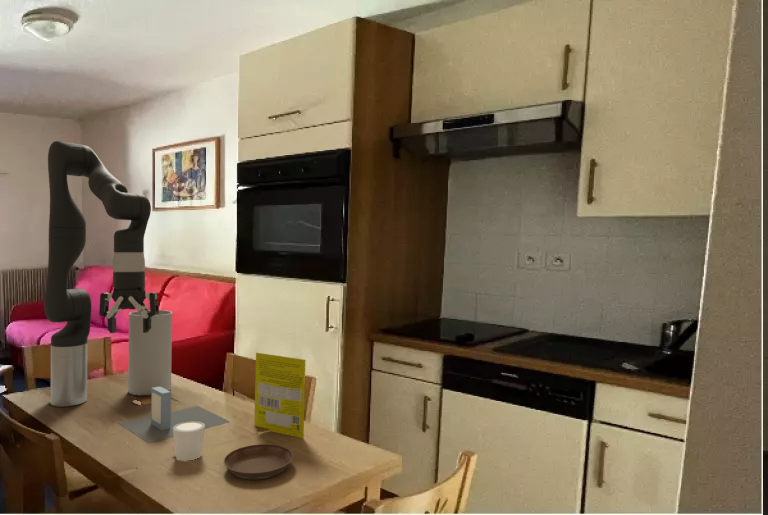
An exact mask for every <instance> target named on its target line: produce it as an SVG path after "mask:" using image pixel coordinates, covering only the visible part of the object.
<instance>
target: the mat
mask: <svg viewBox="0 0 768 515" xmlns="http://www.w3.org/2000/svg"><path fill="white" fill-rule="evenodd" d="M192 421H195V422H201V423H204V424H205V428H204V430H205V429H209V428H212V427H215V426H221V425H224V424H227V423H231V420H228V419H226V418H223V417H222V416H220V415H217V413H216V414H215V413H214V412H212V411H210V410H207V409H206V408H204V407H201V406H199V405H195V406H191V407H187V408H186V407H185V408H182V409H177V410H173V411H171V425H170V429H166V430H160V429H159V428H157V427H155V426H154V425H152V424H151V415H150V416H145V417H142V418H137V419H133V420H128V421H124V422H118V425H120V426H121V427H123V428H124V429H126V430H127V431H129V432H130V433H132V434H134V435H135V436H137V437H138V438H139V439H141V440H142V441H144V442H146V443H148V444H151V443H156V442H159V441H163V440H166V439H170V438H174V434H173V427H174V426H175V425H177V424H180V423H183V422H192Z"/></svg>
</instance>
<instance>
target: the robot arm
mask: <svg viewBox="0 0 768 515" xmlns="http://www.w3.org/2000/svg"><path fill="white" fill-rule="evenodd" d="M47 170H48V183H49V185H48V186H49V217H48V218H49V219H48V220H49V221H48V262H47V274H46V281H45V283H46V284H45V289H44V298H43V299H44V300H43V308H44V309H43V310H44V313H45V314H44V315H45V316H46V318H47V320H48V321H50V322H51V323H63V322H66V324H65V326H64V327H62V328H61V329H60V330H58V331H56V332H55V333H53V334H52V335H51V337H50V405H51V406H54V407H71V406H72V407H73V406H77V405H81V404H83V403H85V402H87V400H88V339H89V335H90V331H91V319H92V299H91V296H90V294H89V292H88V291H87V290H86V289H83V288H69V289H68V279H69V275H70V272H71V270H72V268H73V266H74V265H75V263H76V262H77V260H78V259H79V257H80V256H81V254H82V252H83V251H84V249H85V246H86V243H87V239H86V238H87V237H86V235H87V222H86V219H85V217H84V214H83V213H82V212H81V209H80V208H79V206H78V205H77V203H76V202H75V200H74V199H73V197H72V194H71V192H70V190H69V189H70V188H69V185H68V176H74V177H86V178H88V181H87V183H88V187H89V189H90V191H91V193H92V194H93V195H94V196H95V197H97V198H98V199H99V200H100V202H102V205H103V207H104V209H105V213H106V214H107V215H108V216H109V217H110V218H112V219H115V220H119V221H120V220H121V221H130V223H129V226H128V227H127V228H123V229H118V230H116V231H115V232H114V235H113V259H112V288H113V289H112V292H111V293H110V292H108V291H107V292H101V293H100V295H99V310H98V312H99V316H100V317H104V318H106V319H107V331H108V332H109V334H115V333H116V332H117V317H116V316H117V315H118V314H119V312H120V311H121V310H127V309H128V310H136V311H139V312H140V313H141V314H142V316H143V317H144V319H143V333H147V332H149V330H151V318H152V316H155V315H158V314H159V310H160V309H159V307H160V306H159V294H158V292H157V291H153V292H146V259H145V250H144V248H145V245H144V244H145V243H144V242H145V241H144V238H145V234H146V229H147V227H148V226H147V225H148V222H149V219H150V217H151V211H152V205H151V202H150V200H149V198H148V197H147V196H146V195H144V194H141V193H133V192H128V189H127V187H126V186H125V185H124V184H123V183H122V182H121V181H120V180H119V179H118V178H116V177H115V176H114V175H113V174H112V173H110V171H109V170H108V168H107V167H106V166H105V165H104V163H103V162H102V161H101V159H100V158H99V157H98V155H97V154H96V153H95V151H94V150H93V149H92V148H91V147H90V146H88V145H85V144H80V143H73V142H67V141H62V140H59V141H58V140H56V141H53V142H52V143H51V144H50V146H49V147H48V152H47ZM146 299H147V300H148V302H149V307H148V306H147V304H146V303H145V302H144V301H145V300H146ZM111 300H113V302H114V304H113V305H112V307H111V308H110V302H111ZM109 309H110V310H109ZM149 310H150V311H149Z"/></svg>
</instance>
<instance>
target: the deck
mask: <svg viewBox="0 0 768 515" xmlns="http://www.w3.org/2000/svg"><path fill="white" fill-rule="evenodd" d="M171 398H172V391H170V390H169V391H168V390H166V389H164V388H162V387H160V386H159V387H154V388H151V403H150V416H151V424H152V425H154V426H155V427H157V428H159V429H160V430H166V429H170V425H171V412H172V411H171V410H172V408H171V407H172V401H171Z"/></svg>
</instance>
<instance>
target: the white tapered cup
mask: <svg viewBox="0 0 768 515" xmlns="http://www.w3.org/2000/svg"><path fill="white" fill-rule="evenodd" d="M204 428H205V424H204V423H201V422H195V421H192V422H183V423H180V424H177V425H175V426H174V427H173V434H174V437H173V444H174V455H175V457H176V458H177V459H179V460H193V459H196V460H198V459H197V458H199V457H200V456H201V457H202V454H203V444H204V437H205V435H204V434H205V429H206V428H205V429H204ZM175 457H174V458H175ZM201 457H200V458H201ZM176 458H175V459H176ZM200 458H199V459H200ZM177 459H176V460H177ZM179 460H178V461H179ZM193 461H194V460H193Z"/></svg>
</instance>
